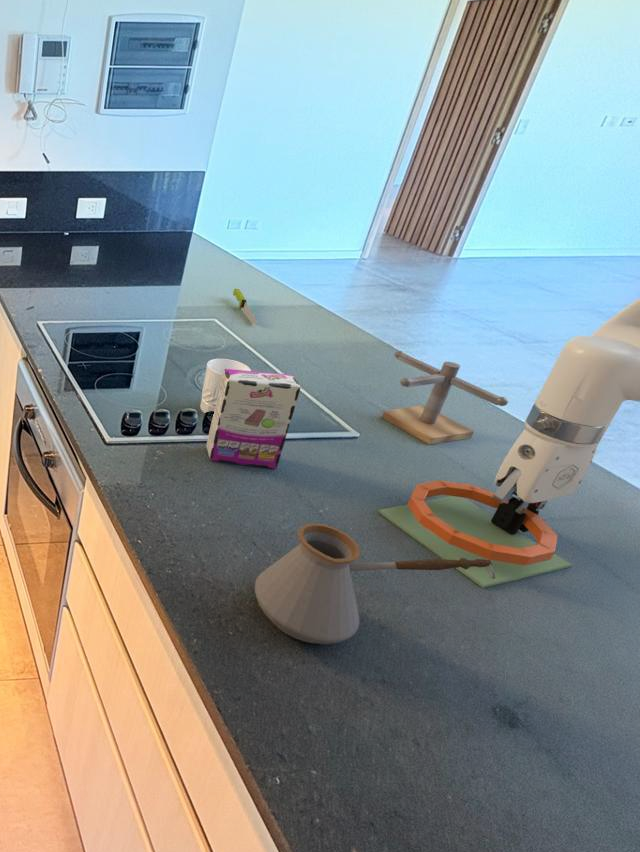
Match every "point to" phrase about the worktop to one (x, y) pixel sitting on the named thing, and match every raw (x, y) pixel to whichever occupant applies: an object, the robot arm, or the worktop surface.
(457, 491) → the ring
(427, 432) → the ring stand
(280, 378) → the candy bar box
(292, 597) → the coffee pot
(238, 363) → the white cup
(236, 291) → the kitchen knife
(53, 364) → the worktop surface
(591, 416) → the robot arm
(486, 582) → the mat
